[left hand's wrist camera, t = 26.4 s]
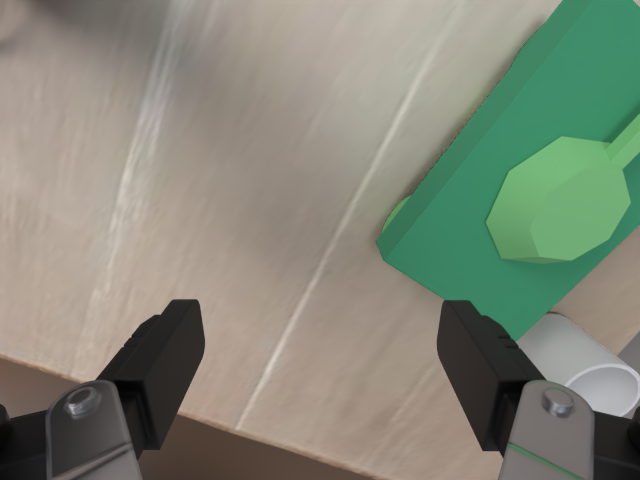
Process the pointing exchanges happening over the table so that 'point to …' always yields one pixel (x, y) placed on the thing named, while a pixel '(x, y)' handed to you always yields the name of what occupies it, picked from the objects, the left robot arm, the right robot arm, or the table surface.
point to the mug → (581, 364)
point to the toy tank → (534, 173)
